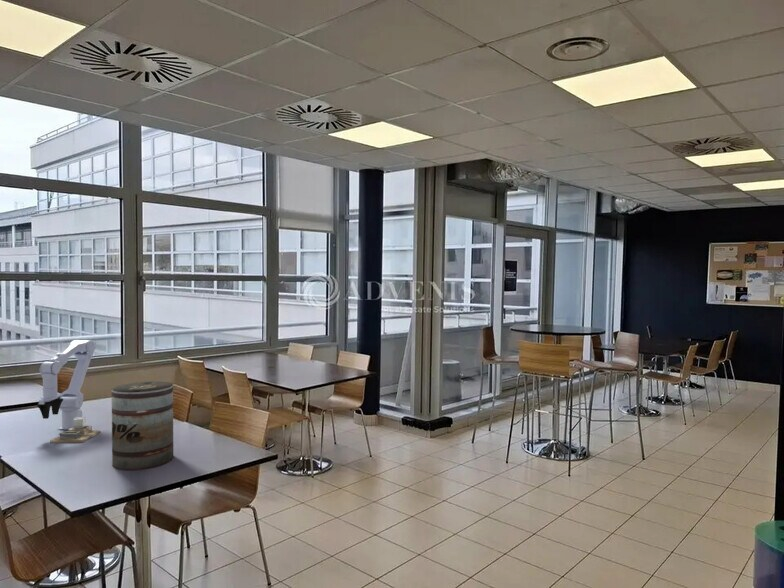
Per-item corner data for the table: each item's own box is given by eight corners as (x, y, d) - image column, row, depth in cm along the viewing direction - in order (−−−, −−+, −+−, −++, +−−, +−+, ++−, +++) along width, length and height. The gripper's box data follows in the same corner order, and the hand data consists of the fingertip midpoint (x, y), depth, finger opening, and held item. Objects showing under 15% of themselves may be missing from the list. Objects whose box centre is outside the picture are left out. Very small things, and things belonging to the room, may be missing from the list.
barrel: (108, 458, 220) (107, 385, 219) (166, 448, 233) (165, 379, 232) (116, 474, 201) (116, 394, 201) (179, 462, 214) (179, 388, 214)
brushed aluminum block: (76, 432, 254) (76, 417, 254) (85, 431, 255) (85, 417, 254) (73, 434, 250) (73, 419, 250) (82, 434, 251) (82, 419, 251)
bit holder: (70, 432, 257) (70, 425, 256) (100, 432, 257) (100, 425, 257) (50, 442, 241) (49, 434, 241) (81, 442, 241) (81, 434, 241)
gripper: (50, 384, 258) (50, 412, 258) (31, 390, 244) (32, 420, 244) (65, 384, 258) (66, 412, 259) (47, 390, 244) (48, 420, 244)
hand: (50, 416), depth 251 cm, fingers open, 7 cm apart
